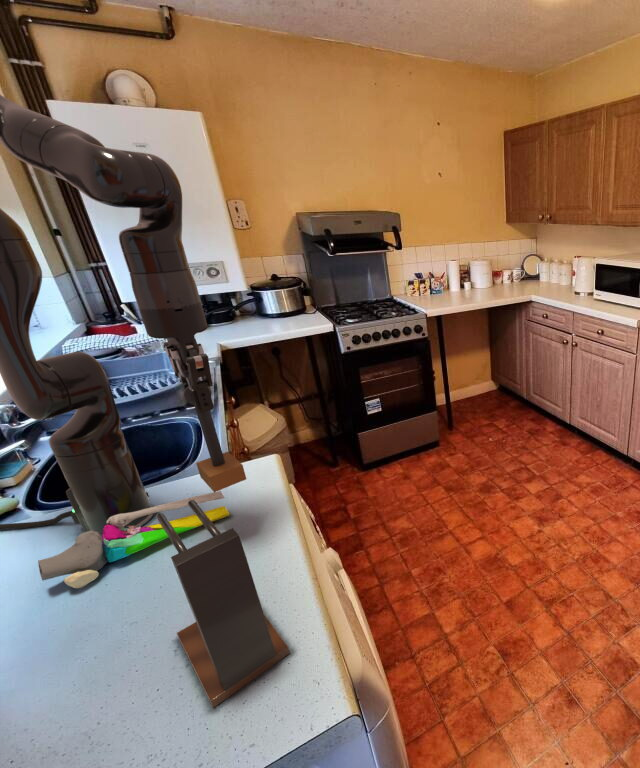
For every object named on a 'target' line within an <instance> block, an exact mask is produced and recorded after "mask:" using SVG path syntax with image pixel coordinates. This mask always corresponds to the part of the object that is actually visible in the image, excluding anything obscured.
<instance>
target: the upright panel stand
mask: <svg viewBox="0 0 640 768" xmlns="http://www.w3.org/2000/svg"><path fill="white" fill-rule="evenodd" d="M188 505H189V508H190V509H191V510H192V511H193V514H196V515H197V517H198V518H199V519H200V521H201V522H202V523H203V525H202V526H204V527H205V529H206V530H207V531H208V533H209V534H210V535H211V537H210V538H208V539H206V540H204V541H202V542H199V543H197V544H195V545H192V546H191V547H189V548H187V547H186V545H185V544H184V542H183V541H182V539H181V538H180V536H179V534H177V533H176V531H175V530H174V528H173V527H172V525H171V524H170V522H169V521H170V520H169V519H168V518H167V516H166V515H165V513H163V512H157V514H156V515H155V517H156V519H157V521H158V522H159V523H160V524H161V526H162V527H163V529H164V530H165V532H166V534H167V535H168V537H169V538H168V539H169V540H170V542H171V543H172V545H173V547H174V548H175V550H176V551H177V553H176V554H174V555H172V556H171V557H170V559H171V561H172V564H173V566H174V569H175V571H176V573H177V576H178V577H177V578H178V579H179V582H180V585H181V587H182V590H183V592H184V595H185V597H186V600H187V603H188V605H189V608H190V610H191V612H192V616H193V618H194V620H195V622H193V623H191V624H190V625H188V626H187V627H185V628H183V629H180V630H179V631H178V632H176V635H177V638H178V640H179V642H180V644H181V646H182V648H183V650H184V652H185V654H186V656H187V658H188V660H189V662H190V664H191V666H192V668H193V670H194V673H195V674H196V676H197V678H198V680H199V682H200V684H201V686H202V689H203V690H204V692H205V694H206V696H207V699H208V701H209V702H210V704H211V707H212V708H215V707H217V706H218V705H219V704H221V703H222V702H224V701H225V700H227V699H229V698H230V697H231V696H232V695H234V694H235V693H237V692H238V691H239V690H240V689H241V690H242V688H244V687H245V686H246V685H248V684H249V683H250V682H252V681H254V680H255V679H256V678H258V677H259V676H260V675H262V674H263V673H264V672H266V671H267V670H268V669H270V668H271V667H273V666H274V665H276V664H277V663H278V662H280V661H281V660H283V659H284V658H286V657H287V656H288V655H289V654H291V652H290V648H289V646H288V644H287V643H286V642H285V640H284V639H283V638H282V637H281V635H280V634H279V632H278V631H277V630H276V628H275V627H274V626H273V624H272V623H271V622H270V620H269V619H268V618H267V616H266V615H265V614H264V609H263V607H262V603H261V601H260V600H261V599H260V598H259V594H258V591H257V588H256V584H255V581H254V578H253V575H252V571H251V568H250V566H249V561H248V559H247V555H246V552H245V550H244V546H243V543H242V539H241V536H240V534H239V533H238V532H237V531H236V530H235V528H234V527H231V528H229V529H227V530H225V531H223V532H220V530H219V529H218V528H217V526H216V525H215V524H214V523H213V522H211V520H210V519H209V518H208V517H207V515H206V514H205V513H204V512H205V511H204V510H203V509H202V508H201V507H200V505H199V503H198V504H197V503H196V502H195V501H194V500H190V501H189V502H188ZM168 520H169V521H168Z"/></svg>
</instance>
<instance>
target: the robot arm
mask: <svg viewBox="0 0 640 768" xmlns="http://www.w3.org/2000/svg"><path fill="white" fill-rule="evenodd" d="M0 144H1V145H2V146H3V147H4V148H5V150H6V151H7V152H9V154H11V155H12V156H14V157H15V158H16V159H18V160H19V161H21V162H23V163H25V164H27V165H28V166H30V167H32V168H34V169H37V170H40V171H41V172H44V173H46V174H49V175H51V176H54V177H56V178H58V179H61V180H63V181H66V182H67V183H69V185H71V186H72V187H73V188H76V189H77V190H78V191H79V192H81V193H82V194H83V195H85V196H86V197H88V198H89V199H90V200H92V201H95V202H97V203H100V204H103V205H106V206H109V207H113V208H120V209H121V208H122V209H139V212H138V213H139V214H138V215H139V216H138V223H137V224H135V225H134V226H130V227H128V228H124V229H122V230H121V231H119V234H118V241H119V245H120V249H121V252H122V255H123V259H124V262H125V264H126V268H127V270H128V273H129V277H130V282H131V289H132V292H133V296H134V299H135V301H136V304H137V308H138V311H139V313H140V316H141V319H142V323H143V325H144V329H145V332H146V334H147V336H148V337H150V338H153V339H160V340H161V339H166V342H163V348H164V350H165V353H166V354H167V358H168V359H169V362H170V364H171V367H172V369H173V372H174V376H175V377H176V378H177V379H178V381H179V383H180V384H181V385H182V386H183V389H184V391H185V389H186V388H187V387H188V386H189V390H191V393H192V396H193V400H194V403H195V406H196V409H197V411H198V412H200V413H203V412H206V411H210V412H211V411H212V410H214V409H215V406H214V401H213V399H212V394H211V395H210V392H209V388H211V387H213V386H214V385H213V384H214V382H213V380H212V373H211V368H210V361H209V358H210V357H209V355H207V353H205V351H204V348H203V345H202V344H201V343H198V342H197V339H196V337H195V336H196V335H197V334H201V333H202V332H205V331H206V330H207V329H208V326H209V325H208V322H207V318H206V314H205V310H204V309H203V304H202V300H201V297H200V294H199V290H198V285H197V283H196V281H195V278H194V277H193V274H192V271H191V269H190V266H189V262H188V258H187V254H186V251H185V248H184V244H183V239H182V236H183V190H182V186H181V184H180V180H179V178H178V176H177V174H176V172H175V171H174V170H173V168H172V167H171V165H170V164H169V163H167V162H166V161H165V160H164V159H163V158H161V157H159V156H157V155H156V154H151V153H147V152H140V151H132V150H131V151H130V150H125V149H124V150H123V149H115V148H109V147H105V145H104V144H103V143H102V142H101V141H100V140H98V139H97V138H95V137H94V136H92V135H91V134H89V133H88V132H86V131H83V130H82V129H79V128H76V127H73V126H72V125H69V124H68V123H64V122H62V121H59V120H57V119H55V118H52V117H49V116H47V115H44V114H42V113H39V112H37V111H34V110H32V109H29V108H27V107H25V106H22V105H20V104H18V103H16V102H15V101H13V100H11V99H9V98H7V97H5V96H3V95H2V94H0ZM42 282H43V269H42V267H41V265H40V262H39V261H38V257H37V256H36V254H35V252H34V249H33V247H32V245H31V243H30V241H29V238H28V237H27V235H26V233H25V231H24V229H23V228H22V227H21V226H20V225H19V224H18V223H17V221H15V219H13V218H12V217H11V216H10V215H9V213H7V212H6V211H4V210H3V208H1V207H0V376H1V379H2V381H3V383H4V386H5V387H6V390H7V393H8V394H9V396H10V398H11V399H12V401H13V403H14V404H15V405H16V407H17V409H19V410H20V412H22V413H23V414H24V415H26V416H27V417H28V418H30V419H32V420H37V421H44V420H49V419H52V418H56V417H58V416H62V415H64V414H67V413H70V412H73V411H75V412H74V414H73V415H72V417H71V418H70V419H69V420H68V421H67V422H66V423H65V424H64V425H62V426H60V428H58V429H57V430H56V431H54V432H53V433H52V434H51V436H50V437H49V439H48V444H49V447H50V449H51V451H52V453H53V456H54V457H55V459H56V461H57V465H58V466H59V469H60V470H61V472H62V474H63V476H64V479H65V480H66V483H67V485H68V487H69V488H68V489H67V490H65V495H66V497H67V499H68V501H69V503H70V505H71V507H72V510H69V511H66V512H62V513H60V514H58V515H57V516H55V517H53V518H50V519H45V520H39V521H30V522H29V521H28V522H12V523H0V530H13V529H15V530H16V529H29V528H39V527H40V528H41V527H45V526H50V525H56V524H58V523H59V522H61V521H62V520H65V519H67V518H72V520H73V522H74V525H80V527H81V528H82V531H83V533H84V532H87V531H95V532H99V533H100V534H101V535H102V537H103V531H104V527H105V526H106V525H107V523H106V522H107V520H108V519H109V518H110V517H111V516H114V515H117V514H125V513H131V512H136V511H140V510H143V509H147V508H150V507H153V506H152V505H151V502H150V495H149V492H147V491H146V489H145V486H144V483H143V481H142V478H141V476H140V473H139V470H138V468H137V466H136V463H135V460H134V457H133V455H132V453H131V450H130V447H129V446H128V445H129V444H128V442H127V439H126V437H125V435H124V432H123V429H122V420H121V416H120V413H119V410H118V406H117V404H116V401H115V397H114V393H113V390H112V387H111V385H110V381H109V378H108V376H107V374H106V371H105V370H104V368H103V366H102V365H101V363H100V362H99V361H98V360H97V359H96V358H95V357H93V356H92V355H91V354H89V353H87V352H84V351H72V352H68V353H67V352H66V353H64V354H63V353H62V354H59V355H55V356H51V357H46V358H42V359H38V360H37V359H36V356H35V354H34V351H33V346H32V342H31V338H30V337H31V335H30V326H31V320H32V316H33V313H34V309H35V306H36V303H37V301H38V299H39V295H40V291H41V287H42V284H43V283H42ZM200 378H201V380H200ZM188 405H190V407H191V406H192V407H195V406H194V405H193V404H190V403H189V402H188ZM196 409H195V410H196ZM154 514H155V513H152V514H149V515H145V516H142V517H139V518H136V519H134V520H132V521H131V522H129V523H128V524H127V525H125V526H124V528H129V527H128V526H135V527H143V526H145V524H147V523H148V522H149V521H150V520H152V518H153V517H154ZM108 525H111V524H108ZM121 527H122V526H121Z"/></svg>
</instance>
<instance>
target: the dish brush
mask: <svg viewBox="0 0 640 768" xmlns="http://www.w3.org/2000/svg"><path fill="white" fill-rule="evenodd" d="M209 392H210V395H211V396H212V390H211V387H209ZM183 398H184V399H185V400H186V402H187V403H188V404H189V403H190V404H193V405H194V406H193V407H194V410H195V412H196V415H197V419H198V422H199V425H200V428H201V432H202V434H203V438H204V441H205V445H206V448H207V450H208V451H207V452H208V454H209V458H205V459H202V460H200V461H197V462H196V463H195V464H196V468H197V470H198V473H199V476H200V478H201V480H203V482H204V483H205V484H206V485H207V486H208V487H209V488H210V490H211V491H212V493H214V492H219V491H222V490H223V489H226V488H228V487H231V486H234V485H236V484H238V483H241V482H244V481H246V480H247V476H246V472H245V468H244V465H243V463H241V462H240V461H239V460H238V459H237V458H236V457H235V456H233V454H232V453H230V451H225V452H223V450H222V447H221V442H220V440H219V437H218V433H217V429H216V427H215V422H214V419H213V416H212V413H211V410H210V411H206V412H203V413H200V412H198V411H197V409H196V406H195V403H194V400H193V396H192V393H191V390H189V386H188V387H187V388H186V389H185V390H184V392H183ZM190 404H189V405H190Z"/></svg>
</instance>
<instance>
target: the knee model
mask: <svg viewBox="0 0 640 768" xmlns="http://www.w3.org/2000/svg"><path fill="white" fill-rule="evenodd" d="M222 499H225V496H224V494H223V492H222V490H219V491H216V492H209V493H205V494H200V495H195V496H190V497H187V498H183V499H179V500H174V501H172V502H171V501H170V502H166V503H163V504H162V503H161V504H159V505H155V506H152V507H150V508H147V509H143V510H140V511H136V512H131V513H125V514H117V515H114V516H111V517H110V518H109V519H108V520H107V522H106V523H107V525H106V526H105V527H104V531H103V537H102V535H101V534H100V533H99V532H95V531H87V532H84V531H83V532H81V533H79V535H78V536H77V537H76V538H75V541H74V543H73V544H72V545H71V546H70V547H68V548H67V549H65V550H64V551H61V553H59V554H55V555H53V556H50V557H47V558H43V559H39V560H37V563H38V570H39V575H40V578H41V581H42V582H43V581H47V580H51V579H55V578H58V577H62V576H67V575H68V576H67V577H65V578H64V579H63V581H64V584H66V585H67V586H68V587H71V588H73V589H82V588H84V587H86V586H87V585H88V584H90V583H91V582H93V581H95V580H96V579H97V578H98V577H99V575H100V573H99V572H98V571H99V570H100V569H102V568H103V567H104V566H105V565H106V564H107V563H113V562H117V561H119V560H122V559H124V558H126V557H129V556H130V555H133V554H135V553H137V552H140V551H142V550H143V551H144V550H145V549H147V548H148V547H151V546H152V545H153V546H154V545H155V544H157V543H160V542H162V541H164V540H166V539H170V538H169V537H168V535H167V534H166V532H165V530H164V529H163V527H162V526H161V524H160V522H159V523H154V524H153V523H152V524H148V525H143V526H141V527H135V526H128V527H129V528H124V526H125V525H127V524H128V523H129V522H131V521H132V520H134V519H136V518H139V517H142V516H145V515H149V514H152V513H154V514H155V513H162V512H165V511H171V510H176V509H181V508H183V507H188V506H189V505H188V502H189V501H190V500H194V501H195V502H196V503H197V504H198V505H199V504H202V503H207V502H212V501H218V500H222ZM189 507H190V506H189ZM203 512H204V513H205V514H206V515H207V517H208V518H209V519H210V520H211V522H212V523H213V522H215V521H219V520H222V519H224V518H227V517H229V516H230V512H229V510H228V509H227V508H226V506H225V505H222V506H219V507H215V508H212V509H209V510H205V511H203ZM168 521H169V522H170V524H171V525H172V527H173V528H174V530H175V531H176V533H177V535H180V534H182V533H184V532H188V531H190V530H194V529H196V528H198V527H201V526H204V525H203V523H202V522H201V521H200V519H199V518H198V517H197V515H196V514H195V513H193V514H191V515H190V514H189V515H187V516H183V517H179V518H175V519H173V520H169V519H168ZM108 524H111V525H108ZM121 526H122V527H121Z"/></svg>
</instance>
